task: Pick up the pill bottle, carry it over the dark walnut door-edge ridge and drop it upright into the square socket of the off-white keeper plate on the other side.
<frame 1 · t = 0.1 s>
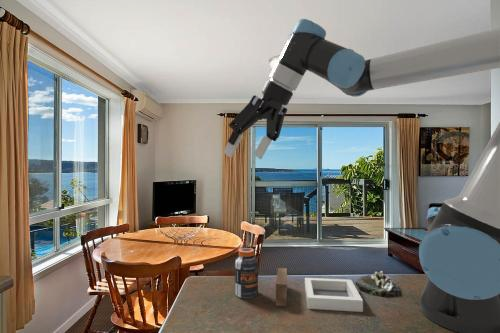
hand: (243, 155, 77), 36 cm above the kitchen counter, tool tilted 35°, fingers open, 13 cm apart
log: (377, 289, 74), on the kitchen counter
door edge: (281, 295, 70), on the kitchen counter
pill bottle: (246, 294, 71), on the kitchen counter
keeper plate: (331, 298, 68), on the kitchen counter
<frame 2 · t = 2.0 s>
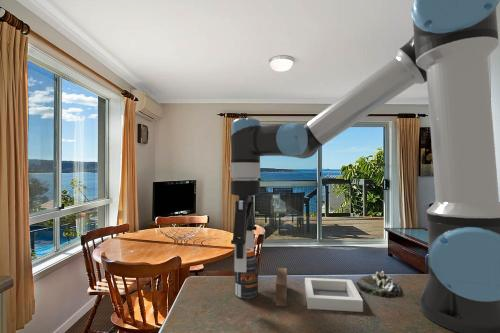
hand: (245, 262, 72), 8 cm above the kitchen counter, tool pointing down, fingers open, 13 cm apart
nothing on the kitchen counter moved.
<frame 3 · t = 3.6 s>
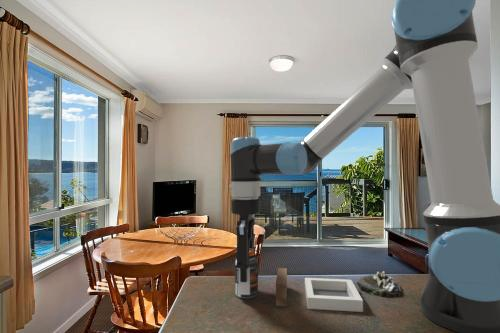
hand: (246, 288, 71), 1 cm above the kitchen counter, tool pointing down, fingers closed on pill bottle, 6 cm apart
pill bottle: (246, 294, 71), on the kitchen counter, touching gripper
everything else where it was.
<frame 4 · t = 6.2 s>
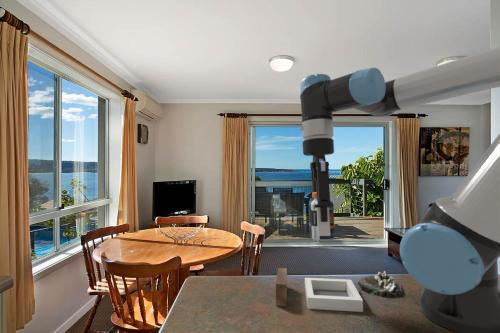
hand: (322, 232, 68), 16 cm above the kitchen counter, tool pointing down, fingers closed on pill bottle, 6 cm apart
pill bottle: (322, 239, 68), point 15 cm above the kitchen counter, touching gripper
everything else where it was.
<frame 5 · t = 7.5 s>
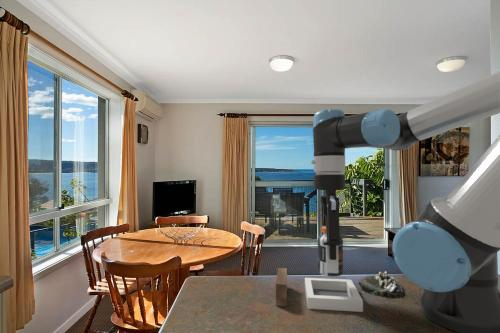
hand: (330, 267, 68), 7 cm above the kitchen counter, tool pointing down, fingers closed on pill bottle, 6 cm apart
pill bottle: (330, 273, 68), point 6 cm above the kitchen counter, touching gripper
everything else where it was.
when the fingers open (4 cm above the kitchen counter, at t = 8.6 s): pill bottle drops 2 cm, resting on keeper plate.
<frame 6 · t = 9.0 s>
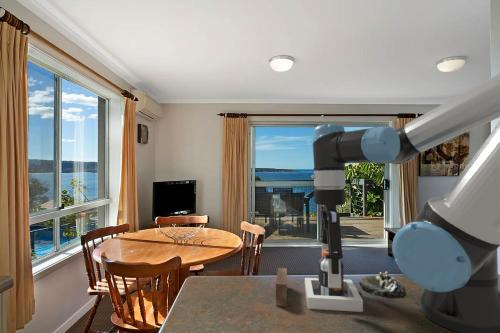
hand: (330, 277, 68), 5 cm above the kitchen counter, tool pointing down, fingers open, 11 cm apart
pill bottle: (331, 297, 68), resting on keeper plate
everything else where it was.
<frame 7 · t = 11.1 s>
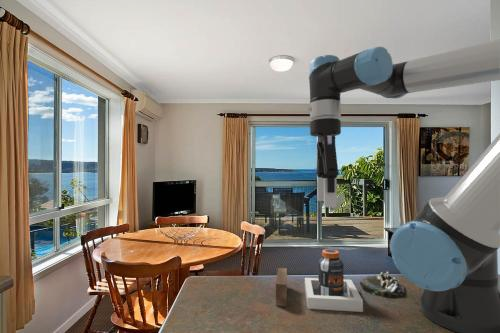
hand: (326, 203, 70), 23 cm above the kitchen counter, tool pointing down, fingers open, 13 cm apart
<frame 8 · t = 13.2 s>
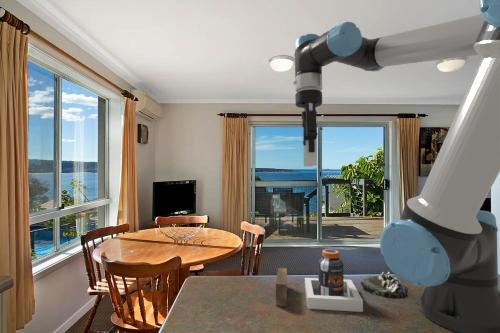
hand: (309, 166, 79), 33 cm above the kitchen counter, tool pointing down, fingers open, 13 cm apart
at the end: pill bottle 0.3 cm off-centre on the keeper plate, point 0.0 cm above the keeper plate's base; pill bottle tilted 0°; the gripper is holding nothing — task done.
